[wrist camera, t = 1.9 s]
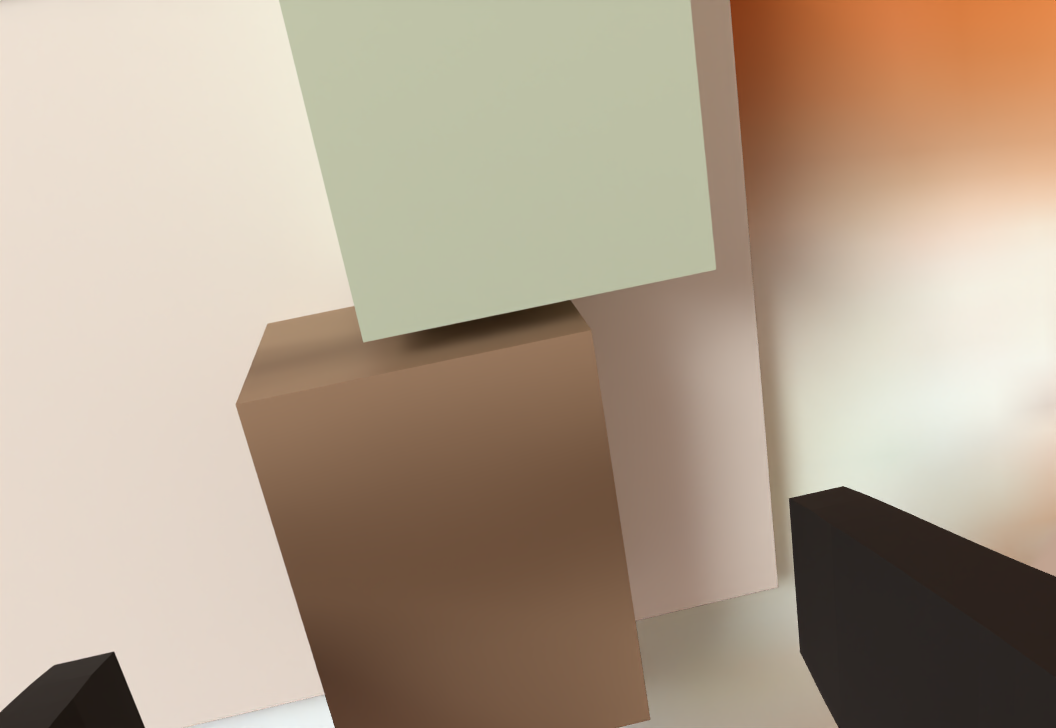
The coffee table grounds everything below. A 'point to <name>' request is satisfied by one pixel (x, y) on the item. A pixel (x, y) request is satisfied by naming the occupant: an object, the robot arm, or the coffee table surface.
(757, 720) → the coffee table surface
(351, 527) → the walnut brick
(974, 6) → the coffee table surface
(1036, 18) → the coffee table surface
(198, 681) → the board
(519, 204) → the sage brick
